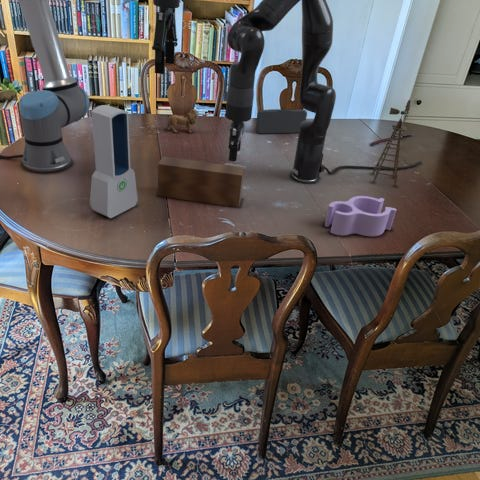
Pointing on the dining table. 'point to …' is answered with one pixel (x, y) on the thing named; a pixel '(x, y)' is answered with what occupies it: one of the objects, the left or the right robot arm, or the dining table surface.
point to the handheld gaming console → (280, 120)
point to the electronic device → (112, 163)
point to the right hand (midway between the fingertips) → (234, 155)
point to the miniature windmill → (399, 125)
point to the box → (200, 181)
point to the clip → (359, 216)
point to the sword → (386, 139)
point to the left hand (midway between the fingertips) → (164, 68)
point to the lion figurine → (183, 120)
